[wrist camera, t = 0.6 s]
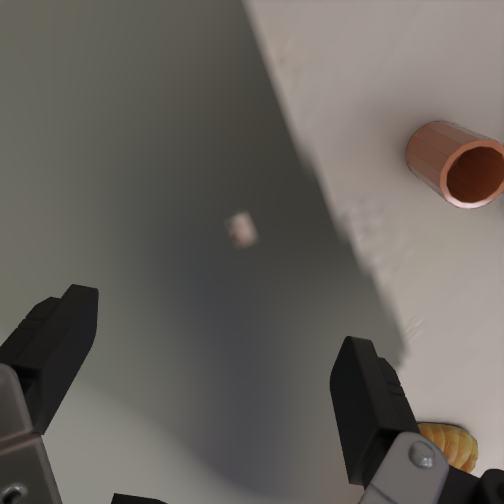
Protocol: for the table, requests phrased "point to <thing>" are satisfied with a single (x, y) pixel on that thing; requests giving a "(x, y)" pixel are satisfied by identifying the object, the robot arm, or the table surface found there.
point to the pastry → (453, 444)
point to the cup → (457, 163)
